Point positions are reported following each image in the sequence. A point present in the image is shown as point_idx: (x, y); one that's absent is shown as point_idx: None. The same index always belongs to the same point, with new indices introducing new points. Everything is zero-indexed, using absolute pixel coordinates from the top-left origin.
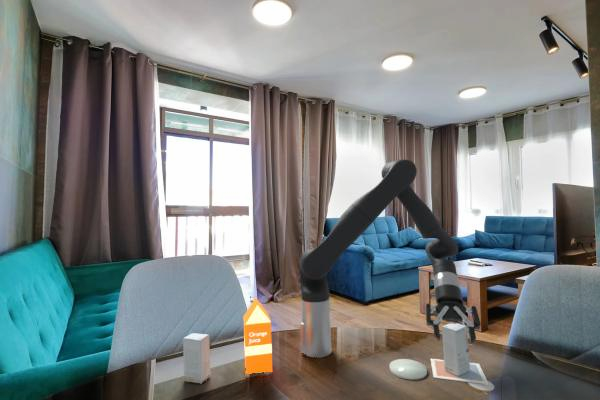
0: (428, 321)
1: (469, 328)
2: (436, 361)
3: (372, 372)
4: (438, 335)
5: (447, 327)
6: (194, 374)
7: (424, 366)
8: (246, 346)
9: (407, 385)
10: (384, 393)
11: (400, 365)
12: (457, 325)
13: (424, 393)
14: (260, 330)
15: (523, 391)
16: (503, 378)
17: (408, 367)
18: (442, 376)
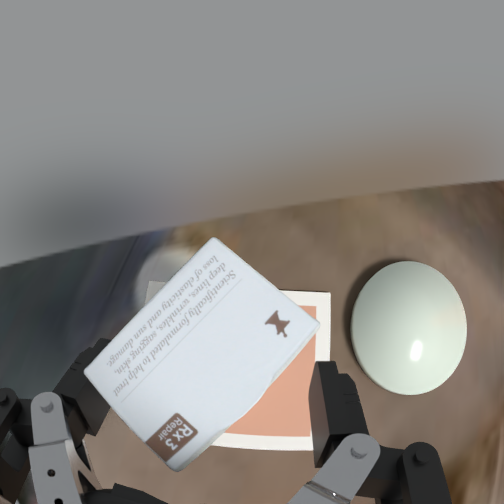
0: (419, 445)
1: (76, 392)
2: (302, 428)
3: (489, 282)
4: (328, 365)
5: (271, 294)
6: None
7: (360, 350)
8: None
9: (402, 231)
10: (439, 189)
11: (438, 332)
12: (158, 366)
13: (356, 200)
14: None
15: (76, 260)
16: (89, 329)
17: (414, 325)
18: (297, 303)
